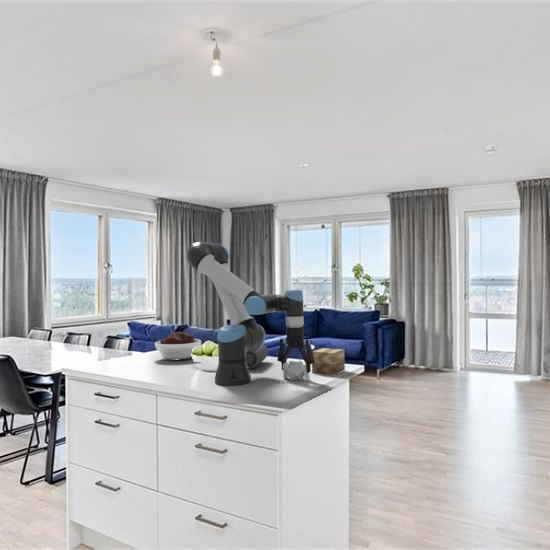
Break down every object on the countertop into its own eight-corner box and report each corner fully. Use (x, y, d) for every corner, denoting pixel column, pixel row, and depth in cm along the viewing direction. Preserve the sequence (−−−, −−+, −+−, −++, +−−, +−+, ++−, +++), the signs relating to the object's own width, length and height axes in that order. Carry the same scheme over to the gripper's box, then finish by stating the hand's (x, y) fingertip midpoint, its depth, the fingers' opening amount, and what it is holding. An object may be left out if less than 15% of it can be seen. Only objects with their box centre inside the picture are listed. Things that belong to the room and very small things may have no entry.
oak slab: (311, 362, 219) (311, 351, 219) (323, 358, 229) (322, 348, 229) (334, 364, 213) (333, 353, 213) (344, 360, 223) (344, 349, 223)
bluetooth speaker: (251, 361, 252) (251, 342, 252) (269, 361, 250) (268, 342, 250) (239, 370, 230) (239, 349, 230) (259, 370, 228) (258, 349, 228)
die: (299, 384, 200) (311, 364, 203) (281, 373, 201) (293, 353, 204) (298, 387, 208) (309, 367, 211) (281, 377, 209) (292, 357, 212)
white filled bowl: (145, 361, 259) (144, 333, 259) (173, 354, 282) (172, 328, 282) (185, 364, 250) (184, 334, 250) (210, 356, 272) (209, 329, 273)
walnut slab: (312, 373, 219) (312, 362, 219) (323, 369, 229) (322, 358, 229) (334, 376, 213) (334, 364, 213) (344, 371, 223) (344, 360, 223)
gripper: (322, 326, 203) (323, 379, 203) (277, 324, 215) (278, 375, 215) (314, 328, 197) (315, 383, 197) (268, 326, 209) (269, 378, 209)
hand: (296, 379), depth 206 cm, fingers closed on die, 9 cm apart
